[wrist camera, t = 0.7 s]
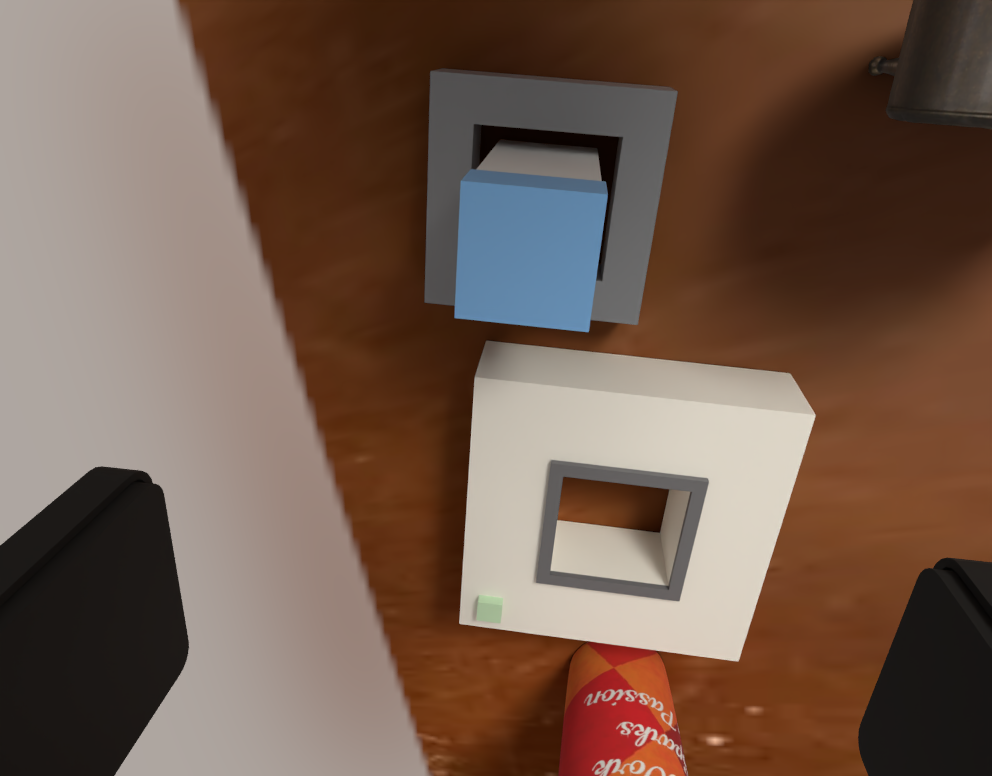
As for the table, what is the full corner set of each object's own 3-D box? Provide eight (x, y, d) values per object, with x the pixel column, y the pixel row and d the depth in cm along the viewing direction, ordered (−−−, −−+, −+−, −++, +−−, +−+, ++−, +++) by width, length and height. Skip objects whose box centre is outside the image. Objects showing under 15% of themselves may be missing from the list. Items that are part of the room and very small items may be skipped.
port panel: (486, 340, 33) (472, 382, 29) (789, 373, 32) (819, 421, 28) (470, 570, 39) (457, 631, 35) (724, 603, 39) (740, 669, 35)
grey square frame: (442, 68, 28) (430, 71, 26) (670, 87, 28) (677, 91, 25) (435, 284, 32) (424, 302, 30) (633, 304, 32) (637, 324, 29)
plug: (497, 136, 29) (460, 180, 20) (600, 145, 29) (607, 194, 20) (491, 237, 31) (454, 317, 22) (586, 246, 31) (588, 332, 22)
